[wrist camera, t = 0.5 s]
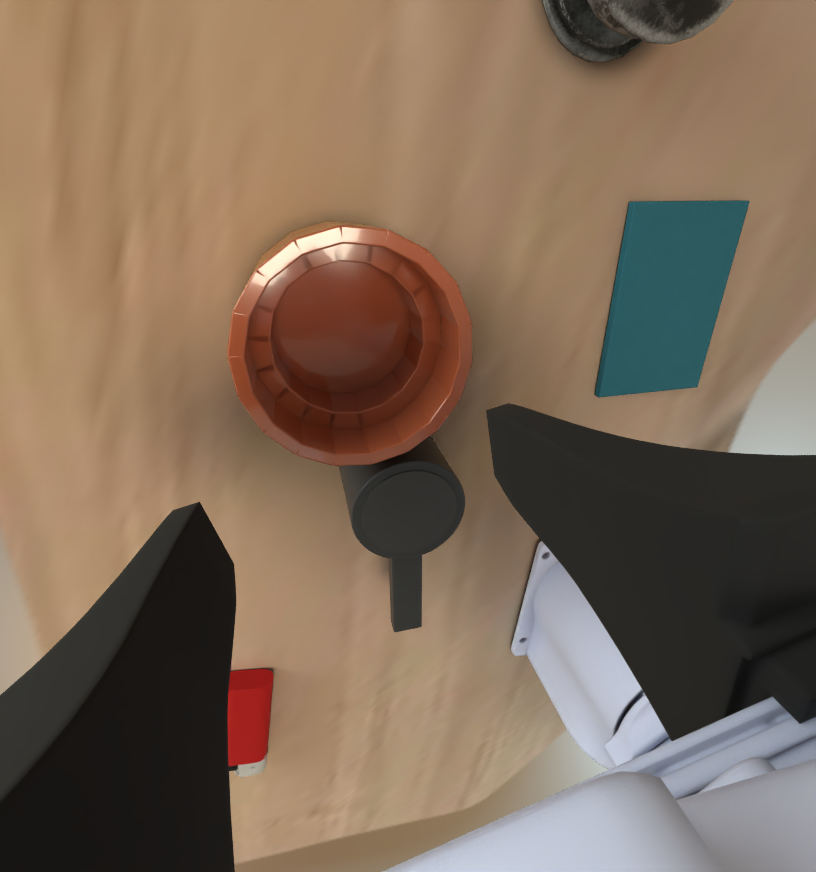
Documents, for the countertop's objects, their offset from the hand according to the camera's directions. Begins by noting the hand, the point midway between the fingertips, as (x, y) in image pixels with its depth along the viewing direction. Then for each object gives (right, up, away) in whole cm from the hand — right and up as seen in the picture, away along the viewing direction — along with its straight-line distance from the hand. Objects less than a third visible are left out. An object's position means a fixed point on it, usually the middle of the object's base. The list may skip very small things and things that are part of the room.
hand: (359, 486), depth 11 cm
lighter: (-9, -16, +17) cm, 25 cm away
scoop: (0, -2, +13) cm, 13 cm away
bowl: (-2, +6, +8) cm, 10 cm away
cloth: (+14, +8, +11) cm, 20 cm away
